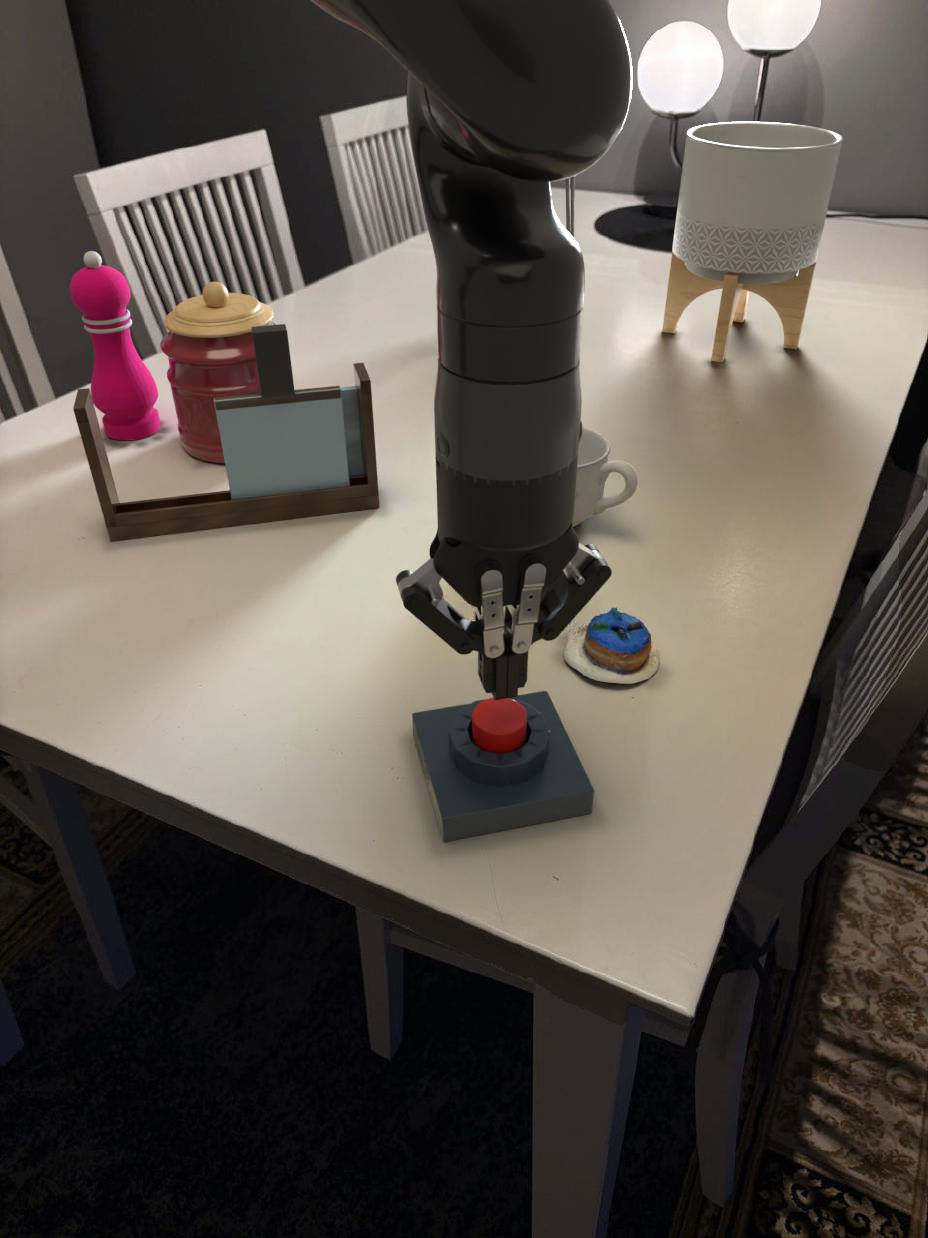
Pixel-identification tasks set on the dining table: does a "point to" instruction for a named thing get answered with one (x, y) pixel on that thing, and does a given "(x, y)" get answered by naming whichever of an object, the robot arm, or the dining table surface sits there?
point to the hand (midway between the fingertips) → (501, 690)
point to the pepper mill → (114, 353)
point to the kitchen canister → (211, 361)
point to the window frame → (219, 505)
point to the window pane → (281, 428)
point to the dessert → (613, 649)
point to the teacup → (598, 477)
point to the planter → (750, 221)
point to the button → (499, 725)
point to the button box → (500, 771)
